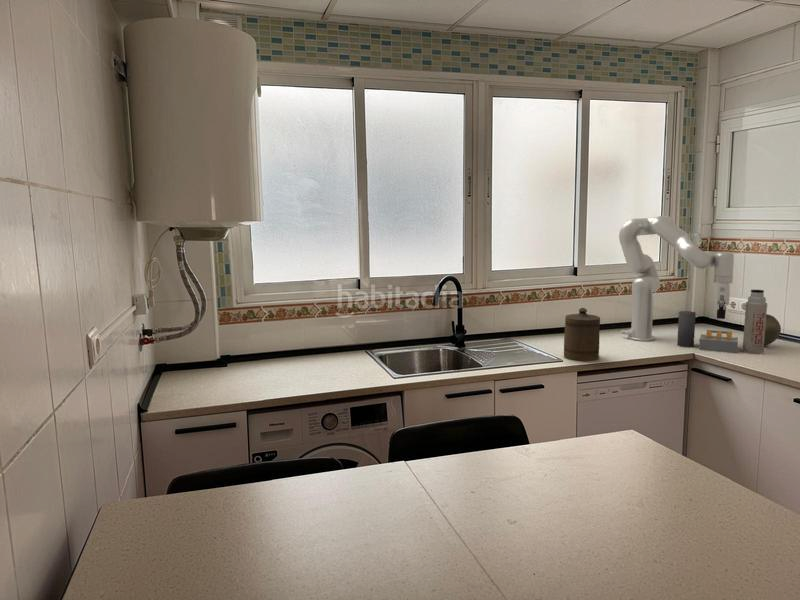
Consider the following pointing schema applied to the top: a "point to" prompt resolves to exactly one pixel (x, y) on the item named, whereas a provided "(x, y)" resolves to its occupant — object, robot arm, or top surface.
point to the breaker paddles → (719, 333)
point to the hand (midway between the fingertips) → (721, 316)
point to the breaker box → (718, 343)
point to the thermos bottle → (755, 323)
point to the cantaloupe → (771, 329)
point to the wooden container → (581, 336)
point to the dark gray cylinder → (686, 329)
